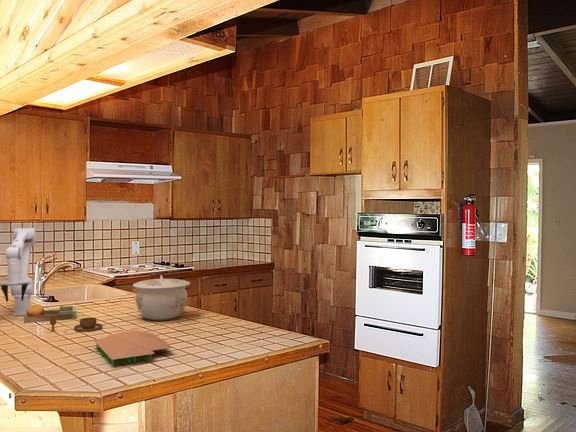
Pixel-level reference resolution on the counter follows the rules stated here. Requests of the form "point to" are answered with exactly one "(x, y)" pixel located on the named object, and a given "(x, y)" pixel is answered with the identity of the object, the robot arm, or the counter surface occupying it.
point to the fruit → (35, 310)
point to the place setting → (82, 325)
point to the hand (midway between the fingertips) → (14, 300)
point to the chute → (54, 315)
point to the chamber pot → (161, 298)
